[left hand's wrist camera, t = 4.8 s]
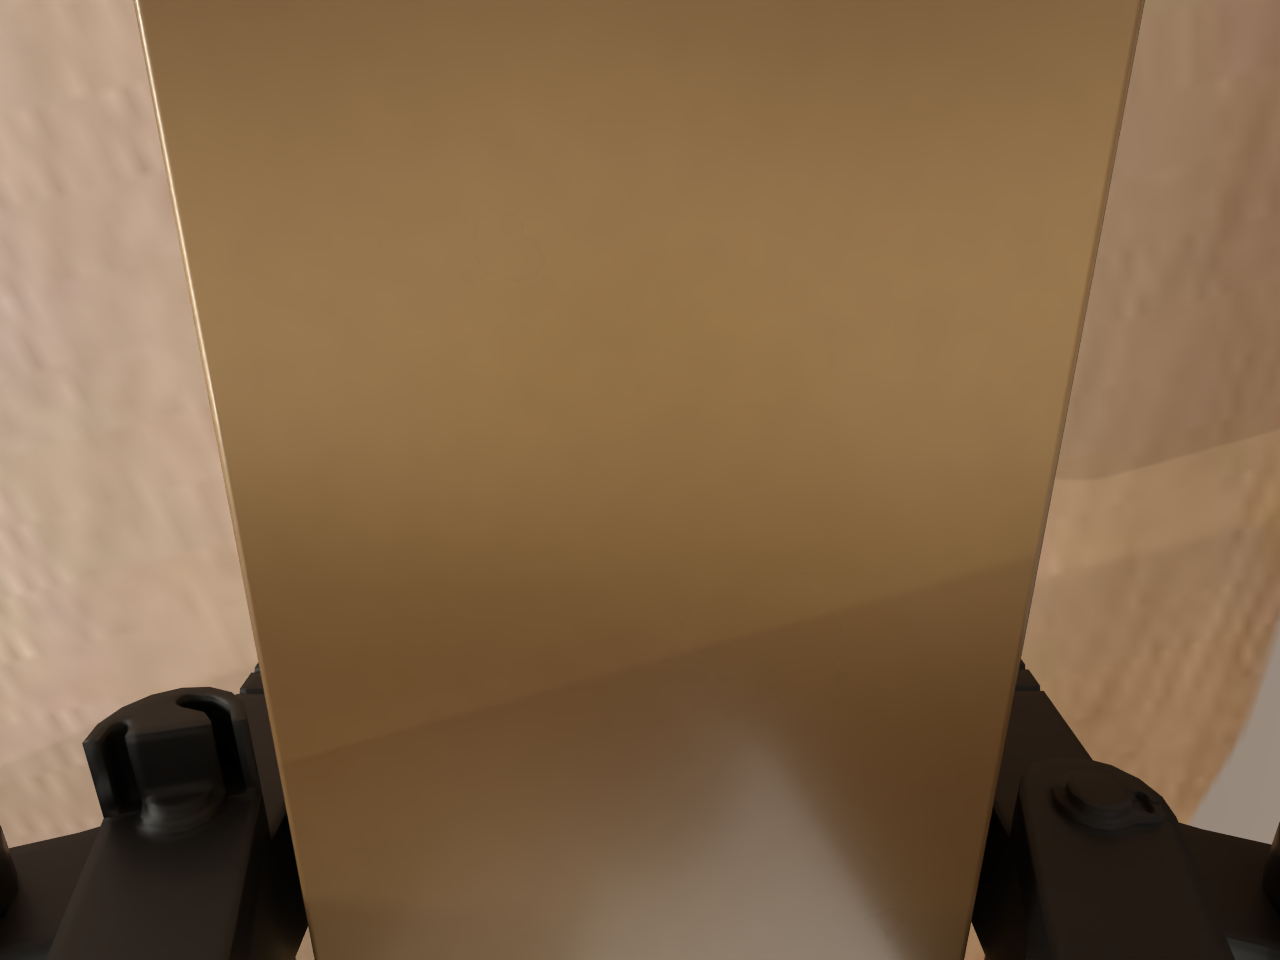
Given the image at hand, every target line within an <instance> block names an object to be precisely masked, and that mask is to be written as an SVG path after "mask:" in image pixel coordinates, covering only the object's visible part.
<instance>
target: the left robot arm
mask: <svg viewBox="0 0 1280 960" xmlns="http://www.w3.org/2000/svg"><path fill="white" fill-rule="evenodd" d="M82 744H83V747H84V751H85V754H86V758H87V761H88V765H89V768H90V772H91V775H92V778H93V782H94V785H95V789H96V792H97V796H98V799H99V803H100V806H101V810H102V813H103V817H104V819H103V822H102V824H101V826H100V827H97V828H94V829H90V830H87V831H83V832H80V833H76V834H71V835H67V836H62V837H58V838H53V839H49V840H44V841H40V842H35V843H31V844H26V845H22V846H18V847H13V848H8V845H7V842H6V839H5V837H4V834H3V831H2V828H1V826H0V960H296V958H295V956H296V954H297V952H298V949H299V947H300V944H301V942H302V939H303V937H304V935H305V932H306V930H307V927H308V921H307V916H306V910H305V905H304V900H303V895H302V889H301V884H300V879H299V873H298V868H297V863H296V858H295V852H294V847H293V842H292V836H291V831H290V826H289V820H288V815H287V810H286V805H285V799H284V794H283V789H282V783H281V778H280V773H279V768H278V762H277V757H276V752H275V746H274V741H273V736H272V731H271V725H270V720H269V715H268V709H267V704H266V699H265V693H264V688H263V683H262V678H261V672H260V667H259V663H258V664H257V665H256V667H255V672H254V673H251V674H250V675H249V677H248V678H247V680H246V681H245V682H244V684H243V685H242V687H241V688H240V694H236V695H234V694H233V693H232V692H228V691H224V690H220V689H216V688H212V687H194V688H179V689H175V690H171V691H166V692H162V693H158V694H153V695H150V696H148V697H145V698H143V699H141V700H138V701H136V702H134V703H131V704H129V705H127V706H124V707H122V708H121V709H119V710H118V711H116V712H115V713H113V714H112V715H110V716H109V717H107V718H106V719H105V720H103V721H102V722H100V723H99V724H97V726H96V727H95V728H94V729H93V731H92V732H91V733H90V734H89V735H88V737H87V738H86V739H85V740H84V742H83V743H82ZM971 922H972V924H973V927H974V929H975V932H976V934H977V936H978V939H979V941H980V944H981V946H982V948H983V951H984V953H985V958H984V960H1280V823H1279V825H1278V828H1277V831H1276V834H1275V837H1274V840H1273V843H1272V845H1271V844H1266V843H1262V842H1257V841H1253V840H1248V839H1244V838H1239V837H1234V836H1230V835H1226V834H1221V833H1217V832H1212V831H1207V830H1203V829H1199V828H1196V827H1192V826H1189V825H1186V824H1182V823H1179V822H1178V820H1177V818H1176V816H1175V815H1174V813H1173V812H1172V810H1171V809H1170V807H1169V806H1168V804H1167V803H1166V802H1165V800H1164V799H1163V797H1162V796H1160V795H1159V794H1158V793H1157V792H1155V791H1154V790H1153V789H1152V788H1150V787H1149V786H1148V785H1146V784H1145V783H1144V782H1143V781H1141V780H1140V779H1139V778H1136V777H1134V776H1132V775H1130V774H1128V773H1126V772H1124V771H1122V770H1120V769H1118V768H1116V767H1114V766H1112V765H1108V764H1105V763H1101V762H1097V761H1093V760H1092V758H1091V757H1090V756H1089V754H1088V753H1087V751H1086V750H1085V749H1084V747H1083V746H1082V744H1081V743H1080V741H1079V740H1078V739H1077V737H1076V736H1075V734H1074V733H1073V732H1072V730H1071V729H1070V727H1069V726H1068V725H1067V723H1066V722H1065V720H1064V719H1063V718H1062V716H1061V715H1060V713H1059V712H1058V710H1057V709H1056V708H1055V706H1054V705H1053V703H1052V702H1051V701H1050V699H1049V698H1048V696H1047V695H1046V694H1045V692H1044V691H1040V685H1039V684H1038V682H1037V681H1036V679H1035V678H1034V677H1033V675H1032V674H1031V672H1030V671H1029V670H1025V664H1024V663H1023V661H1022V660H1020V665H1019V670H1018V676H1017V681H1016V686H1015V692H1014V697H1013V702H1012V708H1011V713H1010V718H1009V724H1008V729H1007V734H1006V739H1005V745H1004V750H1003V755H1002V761H1001V766H1000V771H999V777H998V782H997V787H996V793H995V798H994V803H993V808H992V814H991V819H990V824H989V830H988V835H987V840H986V846H985V851H984V856H983V861H982V867H981V872H980V877H979V883H978V888H977V893H976V899H975V904H974V909H973V915H972V920H971Z"/></svg>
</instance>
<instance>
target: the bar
mask: <svg viewBox="0 0 1280 960" xmlns="http://www.w3.org/2000/svg"><path fill="white" fill-rule="evenodd" d="M1144 2H1145V0H134V5H135V11H136V16H137V21H138V27H139V32H140V37H141V43H142V48H143V53H144V58H145V64H146V69H147V74H148V80H149V85H150V90H151V95H152V101H153V106H154V111H155V117H156V122H157V127H158V132H159V138H160V143H161V148H162V154H163V159H164V164H165V170H166V175H167V180H168V185H169V191H170V196H171V201H172V207H173V212H174V217H175V222H176V228H177V233H178V238H179V244H180V249H181V254H182V259H183V265H184V270H185V275H186V281H187V286H188V291H189V297H190V302H191V307H192V312H193V318H194V323H195V328H196V334H197V339H198V344H199V349H200V355H201V360H202V365H203V371H204V376H205V381H206V387H207V392H208V397H209V402H210V408H211V413H212V418H213V424H214V429H215V434H216V439H217V445H218V450H219V455H220V461H221V466H222V471H223V476H224V482H225V487H226V492H227V498H228V503H229V508H230V514H231V519H232V524H233V529H234V535H235V540H236V545H237V551H238V556H239V561H240V566H241V572H242V577H243V582H244V588H245V593H246V598H247V603H248V609H249V614H250V619H251V625H252V630H253V635H254V641H255V646H256V651H257V656H258V662H259V667H260V672H261V678H262V683H263V688H264V693H265V699H266V704H267V709H268V715H269V720H270V725H271V731H272V736H273V741H274V746H275V752H276V757H277V762H278V768H279V773H280V778H281V783H282V789H283V794H284V799H285V805H286V810H287V815H288V820H289V826H290V831H291V836H292V842H293V847H294V852H295V858H296V863H297V868H298V873H299V879H300V884H301V889H302V895H303V900H304V905H305V910H306V916H307V921H308V926H309V932H310V937H311V942H312V948H313V953H314V958H315V960H964V957H965V952H966V946H967V941H968V936H969V930H970V925H971V920H972V915H973V909H974V904H975V899H976V893H977V888H978V883H979V877H980V872H981V867H982V861H983V856H984V851H985V846H986V840H987V835H988V830H989V824H990V819H991V814H992V808H993V803H994V798H995V793H996V787H997V782H998V777H999V771H1000V766H1001V761H1002V755H1003V750H1004V745H1005V739H1006V734H1007V729H1008V724H1009V718H1010V713H1011V708H1012V702H1013V697H1014V692H1015V686H1016V681H1017V676H1018V670H1019V665H1020V660H1021V655H1022V649H1023V644H1024V639H1025V633H1026V628H1027V623H1028V617H1029V612H1030V607H1031V602H1032V596H1033V591H1034V586H1035V580H1036V575H1037V570H1038V564H1039V559H1040V554H1041V548H1042V543H1043V538H1044V533H1045V527H1046V522H1047V517H1048V511H1049V506H1050V501H1051V495H1052V490H1053V485H1054V479H1055V474H1056V469H1057V464H1058V458H1059V453H1060V448H1061V442H1062V437H1063V432H1064V426H1065V421H1066V416H1067V411H1068V405H1069V400H1070V395H1071V389H1072V384H1073V379H1074V373H1075V368H1076V363H1077V357H1078V352H1079V347H1080V342H1081V336H1082V331H1083V326H1084V320H1085V315H1086V310H1087V304H1088V299H1089V294H1090V289H1091V283H1092V278H1093V273H1094V267H1095V262H1096V257H1097V251H1098V246H1099V241H1100V235H1101V230H1102V225H1103V220H1104V214H1105V209H1106V204H1107V198H1108V193H1109V188H1110V182H1111V177H1112V172H1113V166H1114V161H1115V156H1116V151H1117V145H1118V140H1119V135H1120V129H1121V124H1122V119H1123V113H1124V108H1125V103H1126V98H1127V92H1128V87H1129V82H1130V76H1131V71H1132V66H1133V60H1134V55H1135V50H1136V44H1137V39H1138V34H1139V29H1140V23H1141V18H1142V13H1143V7H1144Z"/></svg>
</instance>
